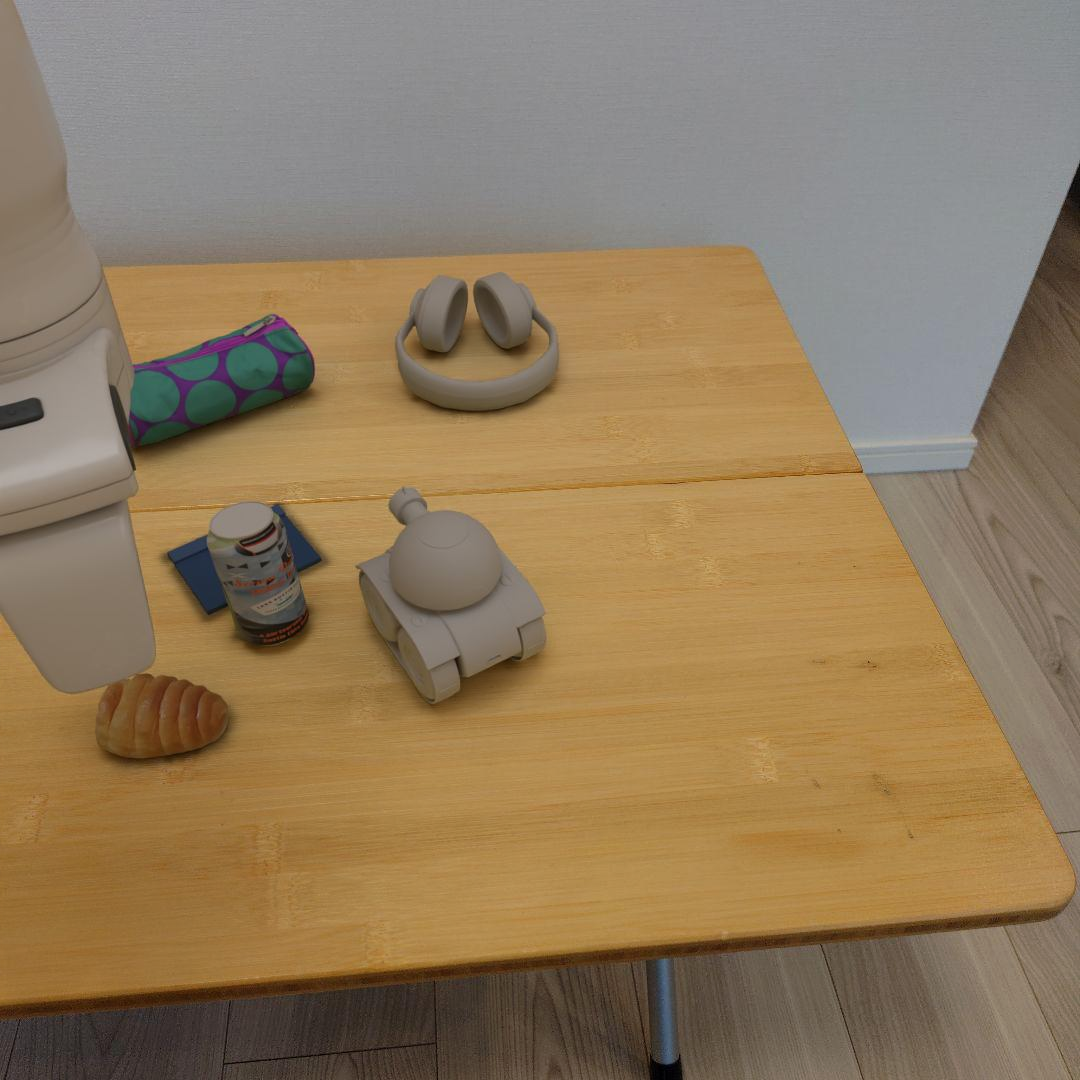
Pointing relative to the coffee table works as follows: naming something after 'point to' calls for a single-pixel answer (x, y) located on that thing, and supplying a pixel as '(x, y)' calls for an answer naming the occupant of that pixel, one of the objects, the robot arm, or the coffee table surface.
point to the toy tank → (448, 598)
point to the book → (202, 573)
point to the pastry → (158, 717)
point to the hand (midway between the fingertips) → (105, 603)
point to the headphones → (505, 321)
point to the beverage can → (257, 573)
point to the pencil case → (218, 380)
